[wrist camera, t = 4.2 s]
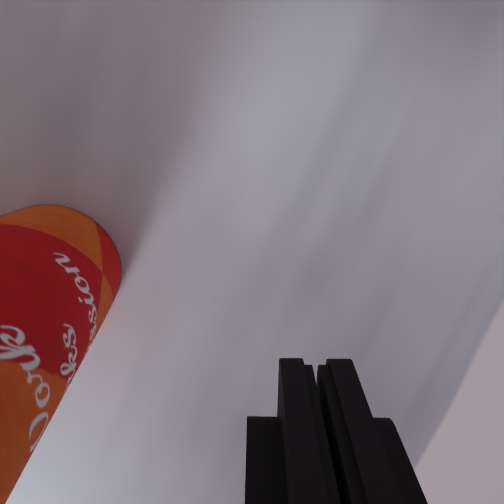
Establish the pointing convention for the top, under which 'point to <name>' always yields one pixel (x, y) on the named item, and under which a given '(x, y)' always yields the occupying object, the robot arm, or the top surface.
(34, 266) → the paper cup
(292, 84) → the top surface
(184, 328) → the top surface
